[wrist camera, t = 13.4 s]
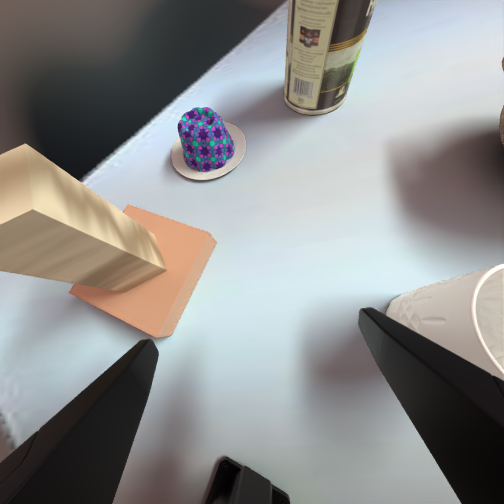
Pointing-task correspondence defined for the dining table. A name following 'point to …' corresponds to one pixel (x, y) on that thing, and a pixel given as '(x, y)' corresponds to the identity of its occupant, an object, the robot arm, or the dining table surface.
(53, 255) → the maple block
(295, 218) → the dining table surface
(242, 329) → the dining table surface
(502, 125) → the cooking pot
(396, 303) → the white cup
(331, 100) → the coffee can
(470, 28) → the dining table surface
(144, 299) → the terracotta base
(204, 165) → the pudding
